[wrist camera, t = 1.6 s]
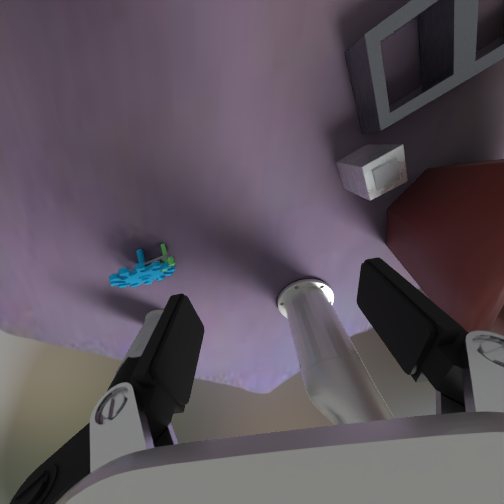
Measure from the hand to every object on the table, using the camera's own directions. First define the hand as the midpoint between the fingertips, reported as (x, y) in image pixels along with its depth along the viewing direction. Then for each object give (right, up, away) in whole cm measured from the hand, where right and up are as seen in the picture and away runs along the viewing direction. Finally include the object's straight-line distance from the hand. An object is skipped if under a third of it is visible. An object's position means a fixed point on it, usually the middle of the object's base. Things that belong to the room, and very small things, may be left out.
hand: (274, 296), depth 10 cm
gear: (-20, +1, +25) cm, 32 cm away
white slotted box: (+14, +15, +18) cm, 27 cm away
